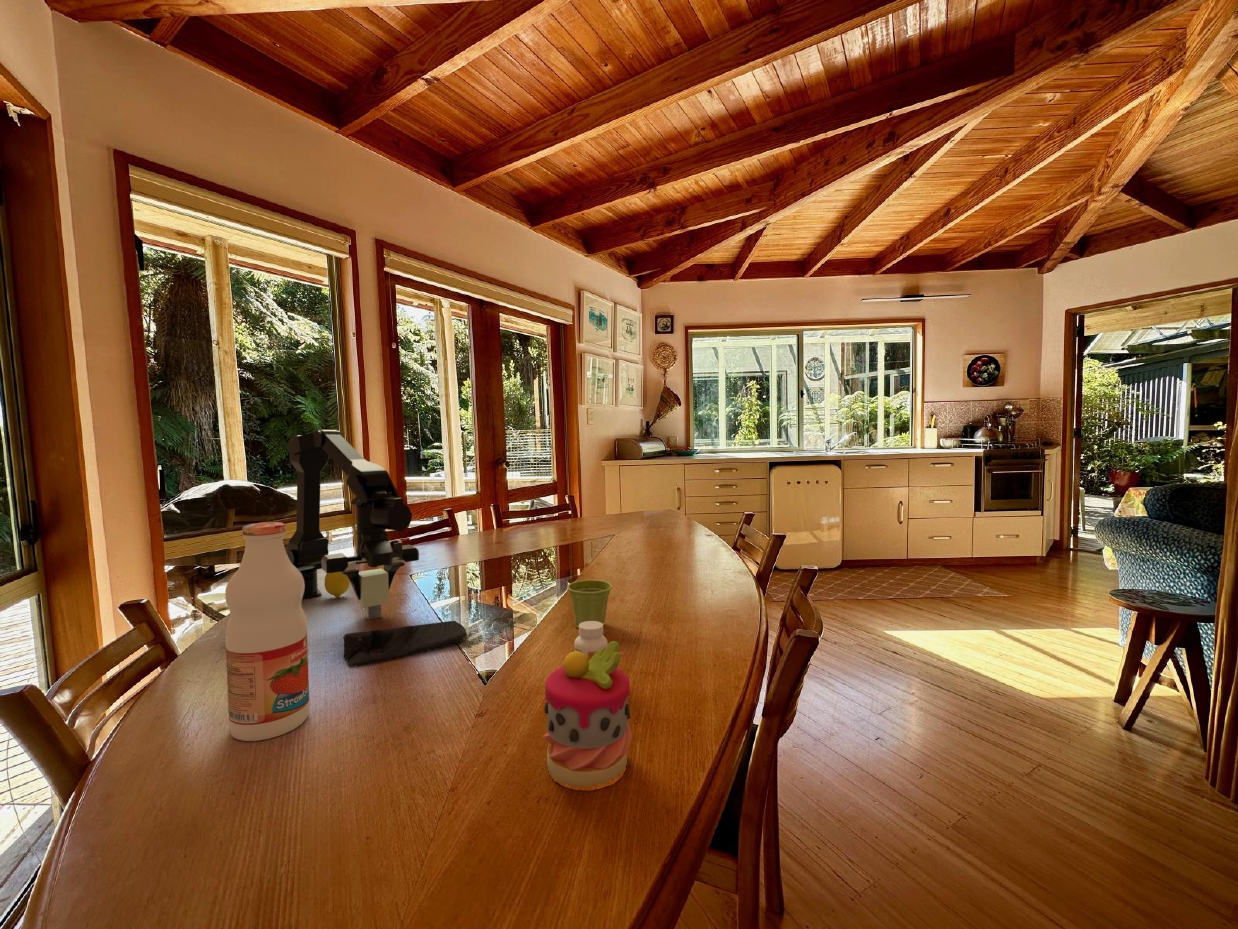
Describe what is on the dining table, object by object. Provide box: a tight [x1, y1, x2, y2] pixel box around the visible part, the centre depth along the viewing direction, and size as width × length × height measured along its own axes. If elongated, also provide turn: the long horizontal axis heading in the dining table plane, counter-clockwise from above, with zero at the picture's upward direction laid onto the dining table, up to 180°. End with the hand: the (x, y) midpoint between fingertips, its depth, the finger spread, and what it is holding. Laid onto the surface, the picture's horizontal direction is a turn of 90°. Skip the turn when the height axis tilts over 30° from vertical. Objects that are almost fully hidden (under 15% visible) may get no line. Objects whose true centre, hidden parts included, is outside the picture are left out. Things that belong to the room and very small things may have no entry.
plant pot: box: [567, 579, 613, 626], centre depth 113 cm, size 9×9×9 cm
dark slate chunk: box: [342, 620, 468, 668], centre depth 103 cm, size 15×22×5 cm
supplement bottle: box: [573, 621, 609, 661], centre depth 87 cm, size 5×5×10 cm
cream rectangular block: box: [356, 568, 390, 609], centre depth 117 cm, size 5×5×7 cm
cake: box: [541, 640, 633, 787], centre depth 65 cm, size 10×11×15 cm
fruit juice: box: [224, 521, 310, 742], centre depth 74 cm, size 9×9×28 cm
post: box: [364, 604, 382, 621], centre depth 118 cm, size 3×3×7 cm
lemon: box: [324, 572, 351, 599], centre depth 131 cm, size 6×6×8 cm
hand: (372, 596), depth 117 cm, fingers closed on cream rectangular block, 5 cm apart
